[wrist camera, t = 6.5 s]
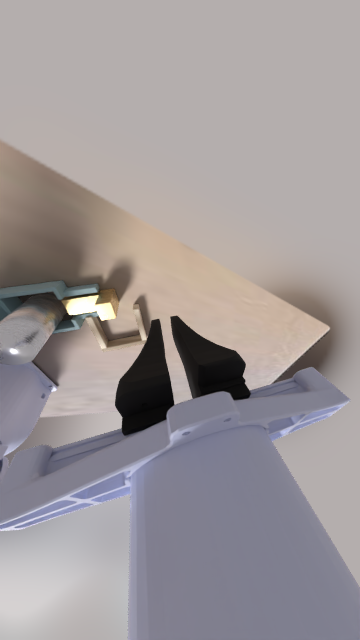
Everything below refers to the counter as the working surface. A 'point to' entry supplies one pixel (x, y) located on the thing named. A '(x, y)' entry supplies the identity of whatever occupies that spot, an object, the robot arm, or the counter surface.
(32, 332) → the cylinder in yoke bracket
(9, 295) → the socket
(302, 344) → the counter surface
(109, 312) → the tan wooden stepped block
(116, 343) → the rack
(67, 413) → the counter surface
